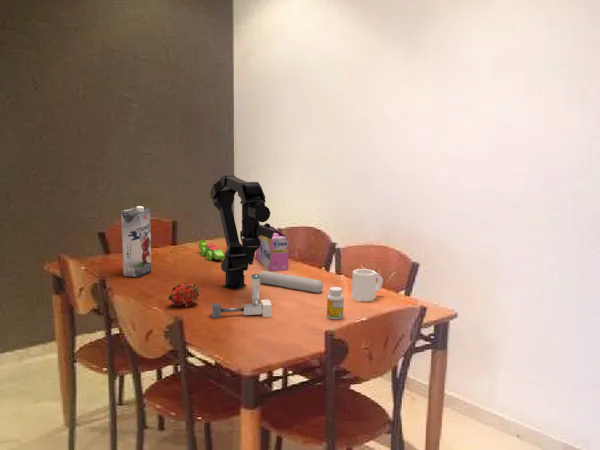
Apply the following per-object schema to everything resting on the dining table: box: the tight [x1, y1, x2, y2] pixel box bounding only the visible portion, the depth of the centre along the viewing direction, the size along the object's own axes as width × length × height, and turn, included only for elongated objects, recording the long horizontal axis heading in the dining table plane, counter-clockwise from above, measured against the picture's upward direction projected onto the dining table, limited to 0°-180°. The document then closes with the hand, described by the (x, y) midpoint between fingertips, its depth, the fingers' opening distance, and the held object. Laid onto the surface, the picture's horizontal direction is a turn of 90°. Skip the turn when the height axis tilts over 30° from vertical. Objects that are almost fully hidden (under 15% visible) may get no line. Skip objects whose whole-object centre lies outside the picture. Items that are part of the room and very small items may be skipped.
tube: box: [259, 269, 324, 294], centre depth 276 cm, size 5×5×25 cm
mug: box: [351, 268, 384, 302], centre depth 266 cm, size 12×9×10 cm
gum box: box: [255, 225, 290, 272], centre depth 309 cm, size 24×8×14 cm, turn 19°
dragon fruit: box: [168, 281, 200, 308], centre depth 253 cm, size 8×8×12 cm
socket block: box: [260, 299, 273, 318], centre depth 246 cm, size 3×6×4 cm, turn 10°
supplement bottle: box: [326, 286, 345, 320], centre depth 244 cm, size 5×5×10 cm
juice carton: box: [120, 205, 152, 278], centre depth 288 cm, size 9×10×27 cm
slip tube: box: [242, 273, 263, 316], centre depth 244 cm, size 8×3×13 cm, turn 100°
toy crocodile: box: [198, 239, 225, 261], centre depth 318 cm, size 20×7×6 cm, turn 27°
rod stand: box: [211, 302, 244, 319], centre depth 244 cm, size 12×4×4 cm, turn 100°
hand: (250, 261), depth 262 cm, fingers open, 9 cm apart
